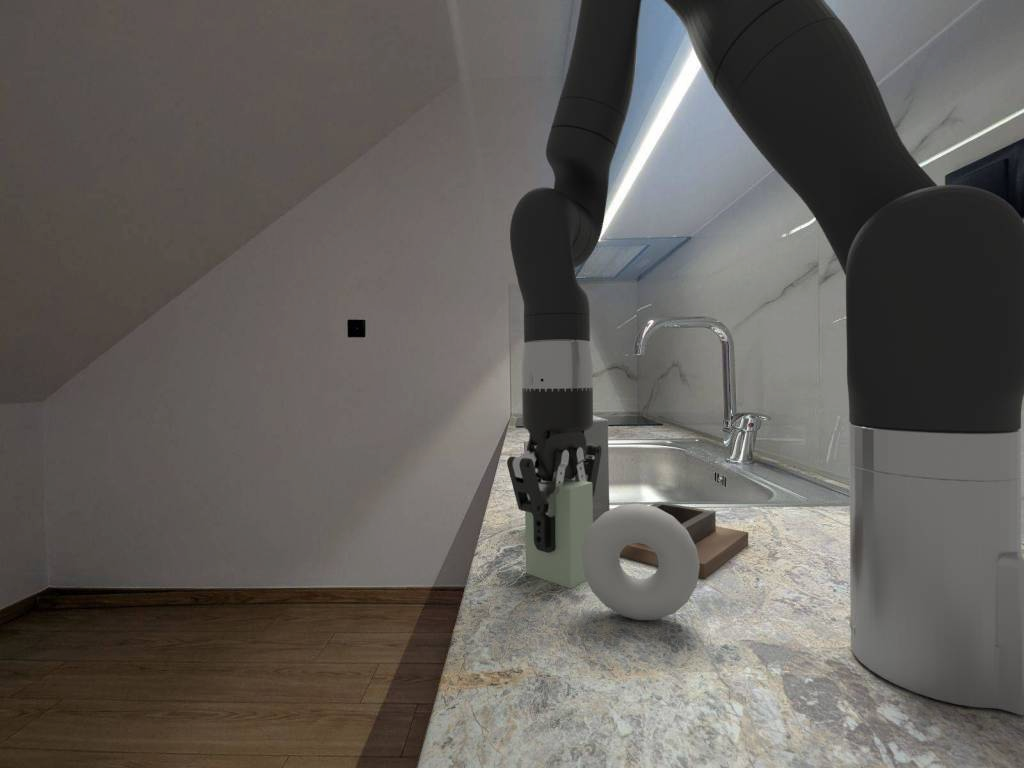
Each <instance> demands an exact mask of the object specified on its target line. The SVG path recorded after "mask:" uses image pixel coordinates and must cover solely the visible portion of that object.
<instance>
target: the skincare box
mask: <svg viewBox="0 0 1024 768" xmlns="http://www.w3.org/2000/svg"><path fill="white" fill-rule="evenodd" d="M584 434H585V438H586V441H587V443H588V444H591V445H599V446H601V449H602V452H601V458H600V464H599V470H598V476H597V482H596V488H595V493H594V496H593V523H594V522H595V521H596V520H597V519H598V518H599V517H600V516H601V515H602V514H603V513H605V512H606V511H609V510H611V509H610V469H609V468H610V467H609V466H610V465H609V463H610V461H609V420H608V419H607V418H603V417H600V416H597V415H594V414H593V426H592V428H591V429H589V430H585V431H584ZM587 464H588V463H587ZM585 476H586V482H587V479H588V475H585Z"/></svg>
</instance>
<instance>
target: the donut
mask: <svg viewBox="0 0 1024 768" xmlns="http://www.w3.org/2000/svg"><path fill="white" fill-rule="evenodd" d="M632 543H641V544H645V545H647V546H649V547H650V548H652V549H653V550H654V552H655V553H656V555H657V557H658V562H659V564H658V566H657V569H656V570H655V572H654V573H653V574H652V575H650V576H648V577H646V578H637V577H633V576H631V575H630V574H628V573H627V572H625V570H624V569H623V567H622V565H621V562H620V557H621V556H620V553H621V551H622V549H623V548H624V547H626V546H627V545H629V544H632ZM581 557H582V564H583V570H584V576H585V578H586V582H587V584H588V586H589V588H590V589H591V592H592V593H593V594H594V595H595V597H596V598H597V599H598V600H600V602H601V603H602V604H603V605H604V606H605V607H607V608H608V609H610V610H612V611H613V612H615V613H616V614H618V615H620V616H621V617H626V618H629V619H633V620H636V621H654V620H655V621H656V620H660V619H663V618H665V617H669V616H671V615H673V614H675V613H677V611H679V610H680V609H682V607H683V606H685V605H686V604H687V603H688V602H689V601H690V599H691V597H692V595H693V593H695V590H696V589H697V586H698V580H699V577H698V574H699V568H700V565H699V559H698V554H697V548H696V546H695V544H694V542H693V540H692V538H691V537H690V535H689V533H688V531H687V530H686V529H685V528H684V527H683V526H682V525H681V524H680V523H679V522H678V521H677V520H676V519H675V518H674V517H673V516H672V515H670V514H668V513H666V512H664V511H662V510H661V509H659V508H657V507H653V506H650V505H647V504H643V503H630V504H629V503H628V504H620V505H618V506H616V507H613V508H611V509H610V510H609V511H606V512H605V513H603V514H602V515H601V516H600V517H599V518H598V519H597V520H596V521H595V522H594V523H593V524H592V525H591V527H590V529H589V531H588V533H587V535H586V536H585V538H584V543H583V549H582V556H581Z"/></svg>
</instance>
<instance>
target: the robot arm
mask: <svg viewBox="0 0 1024 768" xmlns="http://www.w3.org/2000/svg"><path fill="white" fill-rule="evenodd" d="M663 2H665V4H666V5H667V6H668V7H669V8H670V9H671V11H673V13H674V15H676V17H678V18H677V19H679V20H680V22H681V23H682V25H683V27H684V29H685V31H686V32H687V36H688V39H689V41H690V43H691V46H692V48H693V51H694V52H695V55H696V58H697V60H698V62H699V63H700V66H701V67H702V70H703V72H705V74H706V77H707V79H708V80H709V82H710V84H711V86H712V87H713V89H714V90H715V92H716V93H717V95H718V97H719V98H720V99H721V101H722V103H723V104H724V106H725V107H726V109H727V110H728V112H729V113H730V114H731V116H732V117H733V119H734V121H735V122H736V123H737V124H738V125H737V126H739V127H740V128H741V130H742V131H743V132H744V134H745V135H746V137H748V138H749V140H750V141H751V143H752V144H753V145H754V146H755V147H756V149H757V150H758V152H759V153H760V154H761V155H762V156H763V157H764V158H765V160H766V161H767V162H768V163H769V164H770V166H771V167H772V168H773V169H774V171H776V173H778V175H780V177H781V178H782V179H783V180H784V182H785V183H786V184H788V185H789V187H790V188H791V190H793V191H794V192H795V194H797V195H798V197H799V198H800V199H801V200H802V201H803V203H804V204H805V205H806V207H807V208H808V209H809V210H810V212H811V214H812V215H813V217H814V218H815V220H816V221H817V223H818V225H819V227H820V228H821V230H822V232H823V234H824V236H825V237H826V239H827V241H828V243H829V245H830V247H831V249H832V251H833V252H834V254H835V257H836V259H837V260H838V263H839V265H840V267H841V269H842V271H843V273H844V275H845V316H846V317H845V320H846V321H845V326H846V382H847V383H846V384H847V393H848V395H847V396H848V409H849V410H848V411H849V414H848V417H849V418H848V420H849V421H848V422H849V423H848V430H849V431H848V432H849V433H848V434H849V435H848V439H849V440H848V441H849V442H848V443H849V445H848V446H849V447H848V448H849V449H848V450H849V460H848V461H849V465H848V467H849V579H850V580H849V581H850V582H849V587H850V588H849V590H850V592H849V593H850V595H849V597H850V601H849V602H850V616H849V628H850V649H851V651H852V653H853V655H854V657H855V658H856V659H857V660H858V662H860V663H861V664H862V665H863V666H865V667H866V668H867V669H868V670H870V671H872V672H873V673H875V674H876V675H878V676H879V677H881V678H883V679H885V680H887V681H888V682H890V683H892V684H894V685H896V686H899V687H901V688H903V689H906V690H908V691H910V692H913V693H915V694H919V695H922V696H925V697H927V698H932V699H934V700H937V701H942V702H946V703H951V704H954V705H960V706H965V707H972V708H980V709H981V708H984V709H985V708H986V709H998V710H1003V711H1006V712H1010V713H1013V714H1017V715H1020V716H1024V555H1023V551H1022V477H1021V476H1022V432H1021V429H1022V406H1023V399H1024V220H1023V218H1022V217H1021V216H1020V214H1019V213H1018V211H1017V210H1016V209H1015V208H1014V207H1013V205H1011V204H1010V203H1009V202H1007V201H1006V200H1005V199H1004V198H1002V197H1001V196H998V195H996V194H995V193H993V192H990V191H988V190H986V189H983V188H979V187H975V186H970V185H963V184H961V185H960V184H945V185H944V184H943V185H942V184H941V185H938V184H937V183H936V182H935V181H934V180H933V179H932V178H931V176H929V174H927V172H926V171H925V170H924V169H923V168H922V167H921V165H919V163H917V161H916V160H915V158H914V157H913V156H912V155H911V153H910V152H909V150H908V149H907V147H906V146H905V144H904V143H903V142H902V139H901V137H900V135H899V134H898V132H897V129H896V128H895V125H894V123H893V120H892V118H891V116H890V114H889V111H888V109H887V106H886V104H885V101H884V99H883V97H882V94H881V92H880V91H881V90H880V89H879V87H878V84H877V83H876V80H875V78H874V76H873V74H872V72H871V70H870V68H869V65H868V64H867V61H866V59H865V58H864V55H863V54H862V51H861V49H860V48H859V46H858V44H857V42H856V41H855V39H854V37H853V35H852V34H851V33H850V31H849V29H848V28H847V27H846V25H845V24H844V23H843V21H841V19H840V18H839V17H838V16H837V15H836V13H835V12H834V11H833V9H832V8H831V7H830V6H829V4H828V3H827V2H826V0H663ZM641 5H642V0H581V1H580V6H579V13H578V20H577V25H576V31H575V37H574V41H573V46H572V50H571V51H572V52H571V55H570V59H569V63H568V68H567V71H566V74H565V78H564V79H565V80H564V83H563V85H562V86H563V87H562V90H561V94H560V97H559V100H558V102H557V107H556V110H555V113H554V117H553V120H552V124H551V126H550V127H551V128H550V130H549V131H550V132H549V135H548V139H547V143H546V147H545V157H546V160H547V162H548V164H549V166H550V168H551V169H552V172H553V175H554V183H553V184H554V186H553V187H546V186H542V187H541V186H540V187H536V188H533V189H531V190H529V191H527V192H526V193H525V194H523V196H522V197H521V198H520V200H519V201H518V202H517V204H516V206H515V209H514V210H513V213H512V217H511V220H510V228H509V243H510V252H511V256H512V261H513V264H514V270H515V274H516V278H517V279H516V280H517V282H518V283H517V284H518V287H519V290H520V291H519V292H520V293H521V297H522V302H523V354H522V362H521V392H522V393H521V397H522V399H521V400H522V401H521V404H522V406H521V407H522V408H521V409H522V411H521V413H522V426H523V428H524V429H525V430H527V431H528V433H529V439H528V442H527V445H526V451H525V452H523V453H522V454H521V455H520V456H511V455H510V456H509V457H508V458H507V461H506V465H507V470H508V474H509V478H510V480H511V481H510V482H511V486H512V488H513V493H514V496H515V501H516V504H517V507H518V510H519V511H523V512H525V511H526V512H530V513H532V515H533V525H534V544H535V546H536V548H537V549H538V550H540V551H543V552H547V553H550V552H553V551H554V550H555V516H553V515H554V514H555V508H556V494H558V493H559V487H562V486H563V481H564V479H574V480H575V481H579V482H580V481H586V476H585V475H588V479H587V482H592V492H593V496H594V493H595V488H596V482H597V476H598V470H599V464H600V458H601V452H602V449H601V446H599V445H591V444H588V443H587V441H586V438H585V434H584V431H585V430H589V429H591V428H592V426H593V415H594V384H593V383H594V382H593V381H594V380H593V379H594V376H593V374H594V373H593V371H594V370H593V368H594V367H593V366H594V365H593V358H592V357H593V355H592V351H591V342H590V341H591V327H590V326H591V324H590V323H591V321H590V302H589V301H590V300H589V297H588V294H587V292H586V291H585V290H584V288H583V287H582V286H581V285H580V284H579V283H578V280H577V277H576V271H575V270H576V269H575V268H577V267H579V266H581V265H582V264H584V263H585V262H586V261H587V260H588V259H589V258H590V257H591V255H592V254H593V252H594V250H595V249H596V247H597V245H598V243H599V241H600V238H601V234H602V230H603V226H604V221H605V214H606V208H607V207H606V206H607V201H608V200H607V199H608V193H609V192H608V191H609V184H610V183H609V182H610V178H609V177H610V172H611V171H610V170H611V169H610V168H611V165H612V163H613V159H614V157H615V154H616V150H617V147H618V146H619V145H618V144H619V140H620V138H621V135H622V132H623V128H624V126H625V122H626V119H627V115H628V112H629V109H630V105H631V101H632V95H633V92H634V91H633V90H634V86H635V85H634V84H635V77H636V70H637V69H636V68H637V57H638V56H637V54H638V53H637V52H638V40H639V39H638V38H639V27H640V18H641V17H640V16H641V15H640V14H641ZM587 463H588V464H587ZM541 479H542V480H543V481H549V482H552V483H551V484H550V485H545V484H541V483H542V481H541ZM542 491H544V492H546V494H547V496H546V502H545V503H543V500H542V496H541V492H542ZM527 494H528V495H529V497H530V500H528V497H527Z"/></svg>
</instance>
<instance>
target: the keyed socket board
mask: <svg viewBox="0 0 1024 768" xmlns="http://www.w3.org/2000/svg"><path fill="white" fill-rule="evenodd" d="M649 506H653V507H657V508H659V509H661V510H662V511H664V512H666V513H668V514H670V515H672V516H673V517H674V518H675V519H676V520H677V521H678V522H679V523H680V524H681V525H682V526H683V527H684V528H685V529H686V530H687V531H688V533H689V535H690V537H691V538H692V540H693V542H694V544H695V546H696V548H697V554H698V559H699V565H700V568H699V574H698V578H701V579H706V578H707V577H709V576H710V575H711V574H712V573H714V572H715V571H716V570H718V569H719V568H721V566H722V565H724V564H725V563H727V561H729V560H730V559H731V558H733V557H734V556H735V555H737V554H738V553H739V552H740V551H742V550H743V549H744V548H746V547H747V546H748V545H749V532H748V531H744V530H738V529H735V528H734V529H732V528H728V527H722V526H718V525H716V524H717V523H716V521H717V520H716V517H717V515H716V511H714V510H708V509H704V508H698V507H692V506H686V505H681V504H680V505H679V504H673V503H670V502H669V503H668V502H661V501H658V502H656V503H655V502H654V503H653V504H650V505H649ZM620 557H622V558H626V559H629V560H634V561H637V562H641V563H645V564H649V565H652V566H656V567H658V564H659V562H658V557H657V555H656V553H655V552H654V550H653V549H652V548H650V547H649V546H647V545H645V544H641V543H632V544H629V545H627V546H626V547H624V548H623V549H622V551H621V553H620Z"/></svg>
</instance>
